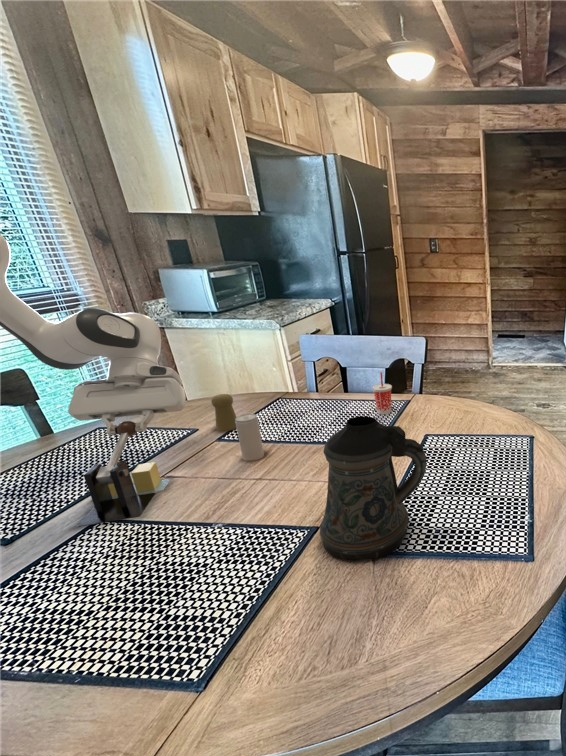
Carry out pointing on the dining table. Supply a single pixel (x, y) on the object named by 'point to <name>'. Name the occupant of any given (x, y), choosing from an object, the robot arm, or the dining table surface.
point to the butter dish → (159, 488)
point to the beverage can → (249, 437)
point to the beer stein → (367, 489)
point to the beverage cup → (382, 397)
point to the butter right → (146, 477)
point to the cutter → (105, 504)
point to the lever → (116, 451)
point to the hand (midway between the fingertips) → (126, 432)
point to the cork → (224, 412)
